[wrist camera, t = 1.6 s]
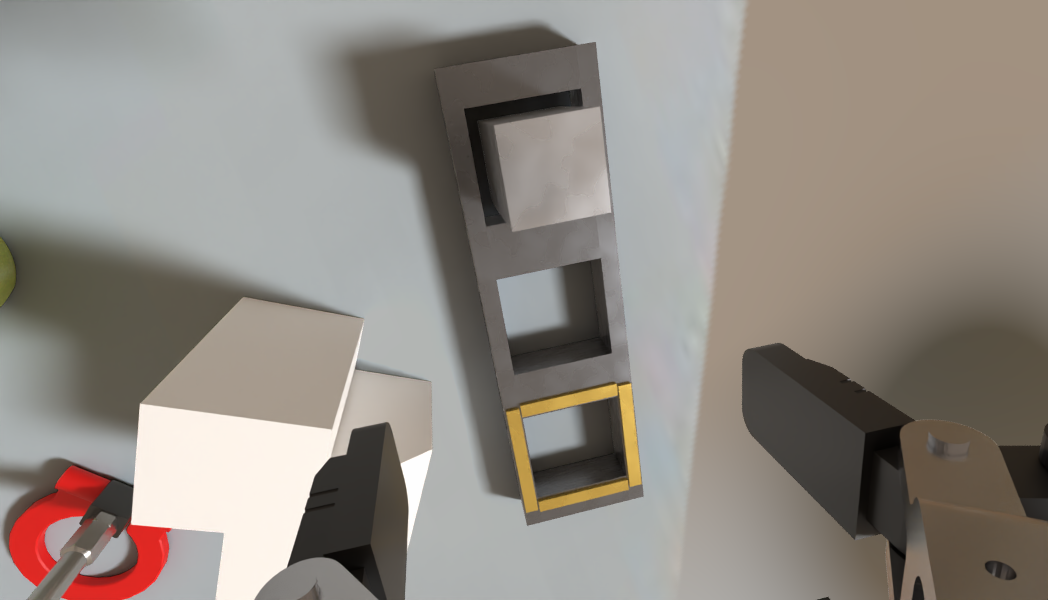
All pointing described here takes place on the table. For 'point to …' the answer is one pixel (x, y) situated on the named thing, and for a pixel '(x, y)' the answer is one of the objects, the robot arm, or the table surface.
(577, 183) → the pale grey square box
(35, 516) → the tow hook
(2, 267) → the plant pot
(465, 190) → the rail
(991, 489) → the robot arm
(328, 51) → the table surface
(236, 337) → the white angular block
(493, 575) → the table surface
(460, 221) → the table surface
